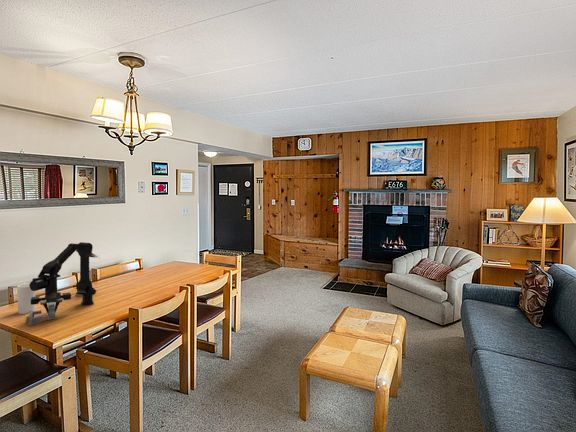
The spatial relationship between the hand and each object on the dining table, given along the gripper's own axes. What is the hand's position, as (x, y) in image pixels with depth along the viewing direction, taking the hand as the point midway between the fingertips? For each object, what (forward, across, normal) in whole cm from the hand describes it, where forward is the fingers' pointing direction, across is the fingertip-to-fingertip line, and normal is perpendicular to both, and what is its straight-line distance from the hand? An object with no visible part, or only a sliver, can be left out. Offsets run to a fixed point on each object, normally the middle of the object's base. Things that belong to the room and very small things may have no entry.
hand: (51, 313), depth 195 cm
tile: (+3, -5, 0) cm, 6 cm away
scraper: (+2, 0, 0) cm, 2 cm away
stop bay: (+2, -7, 0) cm, 7 cm away
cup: (+3, -12, +18) cm, 22 cm away
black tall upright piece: (+3, +21, +40) cm, 45 cm away
